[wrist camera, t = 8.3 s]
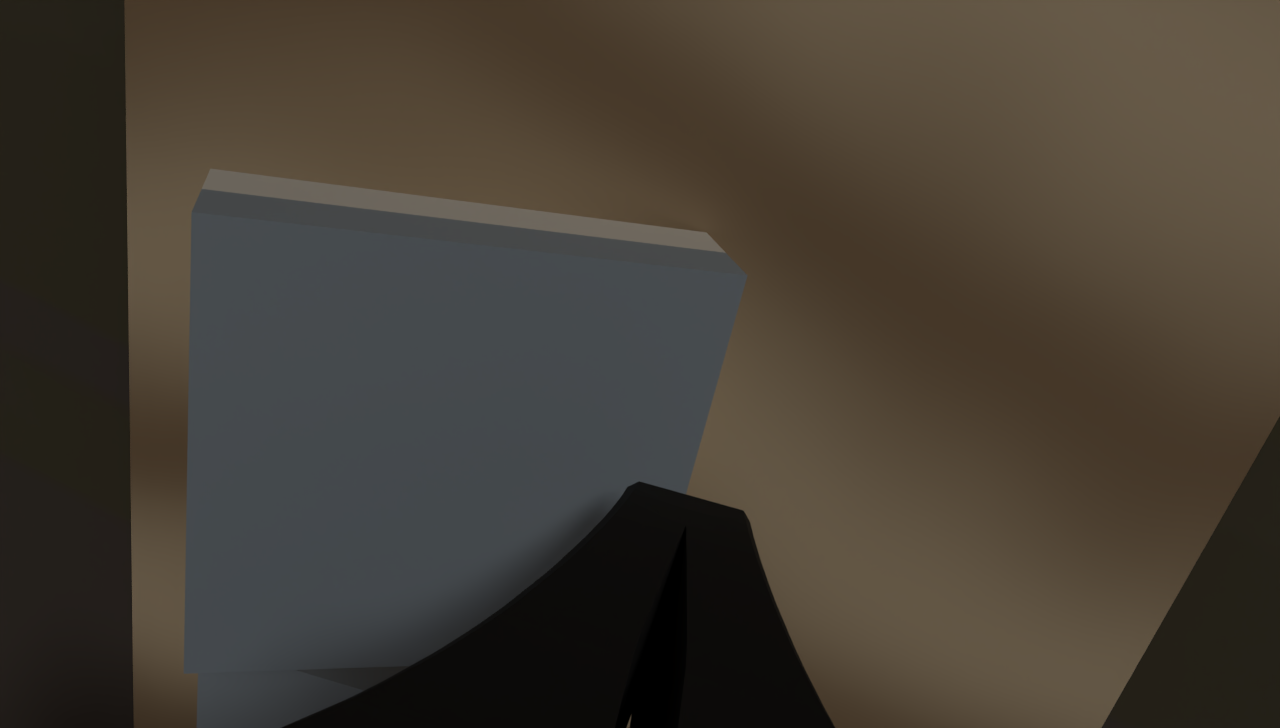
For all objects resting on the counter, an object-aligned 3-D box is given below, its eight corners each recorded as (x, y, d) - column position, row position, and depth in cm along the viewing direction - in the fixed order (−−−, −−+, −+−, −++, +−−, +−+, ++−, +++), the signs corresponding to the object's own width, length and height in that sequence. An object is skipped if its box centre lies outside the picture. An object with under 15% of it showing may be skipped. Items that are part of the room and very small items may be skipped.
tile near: (640, 658, 14) (183, 674, 12) (614, 589, 15) (200, 593, 13) (747, 275, 11) (191, 212, 9) (706, 233, 12) (209, 169, 10)
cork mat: (865, 1116, 20) (866, 1138, 19) (148, 889, 21) (136, 905, 20) (1482, 16, 10) (1506, 19, 10) (142, -296, 11) (120, -305, 11)
